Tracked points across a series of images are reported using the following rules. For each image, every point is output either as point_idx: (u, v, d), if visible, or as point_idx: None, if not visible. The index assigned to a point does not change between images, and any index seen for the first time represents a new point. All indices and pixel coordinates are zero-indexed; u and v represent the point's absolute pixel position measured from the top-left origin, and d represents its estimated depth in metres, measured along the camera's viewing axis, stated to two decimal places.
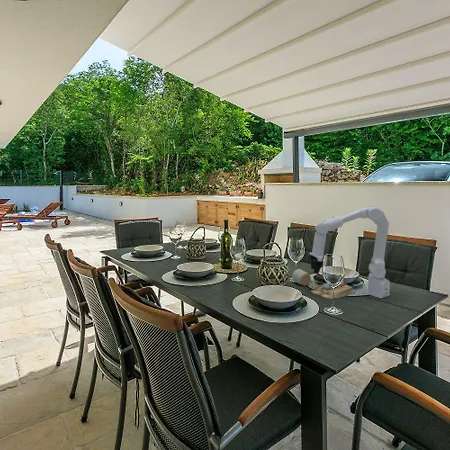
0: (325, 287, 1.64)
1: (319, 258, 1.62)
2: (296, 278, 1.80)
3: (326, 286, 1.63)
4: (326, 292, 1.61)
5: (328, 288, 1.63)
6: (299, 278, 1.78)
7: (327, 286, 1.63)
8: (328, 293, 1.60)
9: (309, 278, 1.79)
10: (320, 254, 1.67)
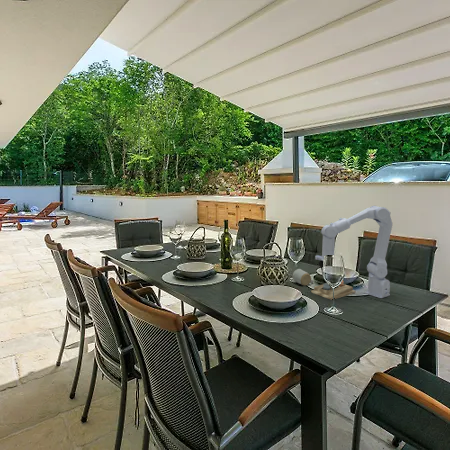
0: (325, 287, 1.64)
1: None
2: (296, 278, 1.80)
3: (326, 286, 1.63)
4: (326, 292, 1.61)
5: (328, 288, 1.63)
6: (299, 278, 1.78)
7: (327, 286, 1.63)
8: (328, 293, 1.60)
9: (309, 278, 1.79)
10: None
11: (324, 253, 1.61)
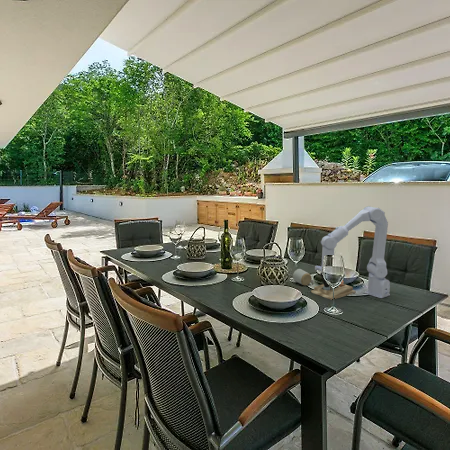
0: None
1: None
2: (297, 278, 1.80)
3: (326, 289, 1.63)
4: (326, 292, 1.61)
5: None
6: (300, 278, 1.78)
7: (327, 289, 1.63)
8: (328, 293, 1.60)
9: (310, 278, 1.79)
10: None
11: None
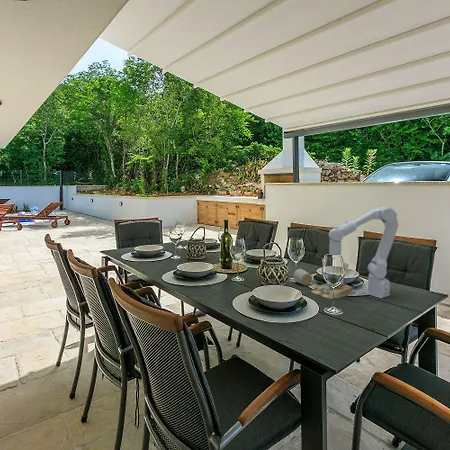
0: None
1: (346, 265, 1.60)
2: (297, 278, 1.80)
3: (326, 289, 1.63)
4: (326, 292, 1.61)
5: None
6: (300, 278, 1.78)
7: (327, 289, 1.63)
8: (328, 293, 1.60)
9: (310, 278, 1.79)
10: None
11: None
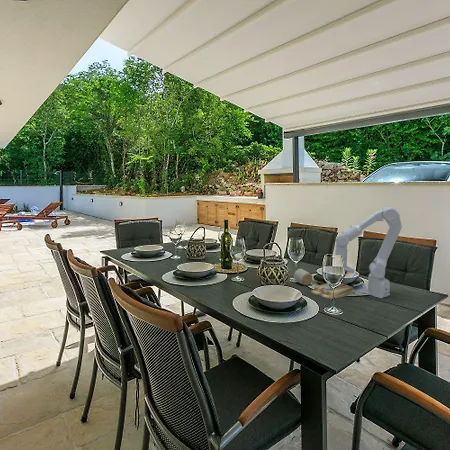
0: None
1: (352, 270, 1.63)
2: (298, 278, 1.80)
3: (326, 289, 1.63)
4: (326, 292, 1.61)
5: None
6: (301, 278, 1.78)
7: (327, 289, 1.63)
8: (328, 293, 1.60)
9: (311, 278, 1.79)
10: (346, 266, 1.67)
11: None
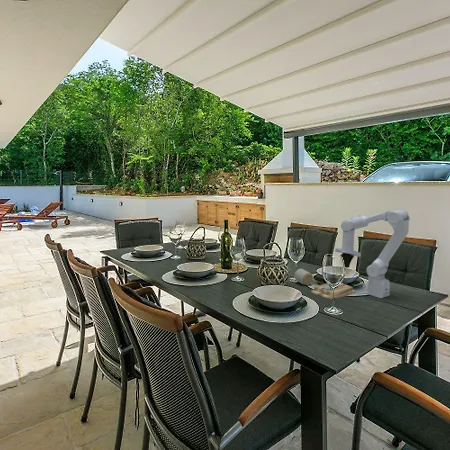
0: None
1: (359, 254, 1.69)
2: (298, 278, 1.81)
3: (326, 289, 1.63)
4: (326, 292, 1.61)
5: None
6: (301, 278, 1.78)
7: (327, 289, 1.63)
8: (328, 293, 1.60)
9: (311, 278, 1.79)
10: None
11: (344, 246, 1.73)
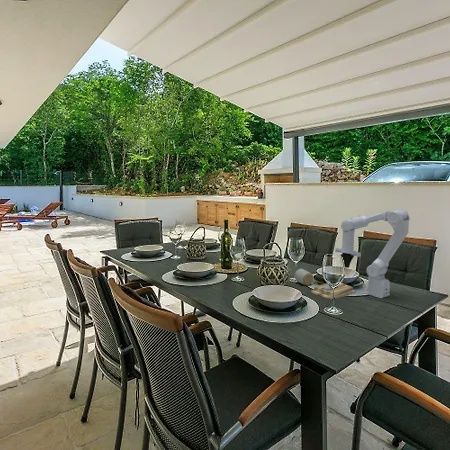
0: None
1: (359, 254, 1.69)
2: (298, 278, 1.81)
3: (326, 289, 1.63)
4: (326, 292, 1.61)
5: None
6: (301, 278, 1.78)
7: (327, 289, 1.63)
8: (328, 293, 1.60)
9: (311, 278, 1.79)
10: None
11: (344, 246, 1.73)
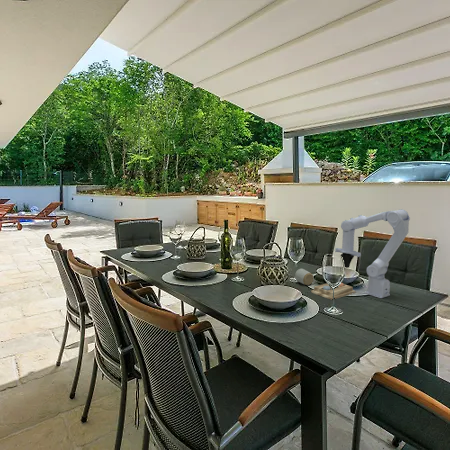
0: None
1: (359, 254, 1.69)
2: (299, 278, 1.81)
3: (326, 289, 1.63)
4: (326, 292, 1.61)
5: None
6: (302, 278, 1.78)
7: (327, 289, 1.63)
8: (328, 293, 1.60)
9: (312, 278, 1.79)
10: None
11: (344, 246, 1.73)
